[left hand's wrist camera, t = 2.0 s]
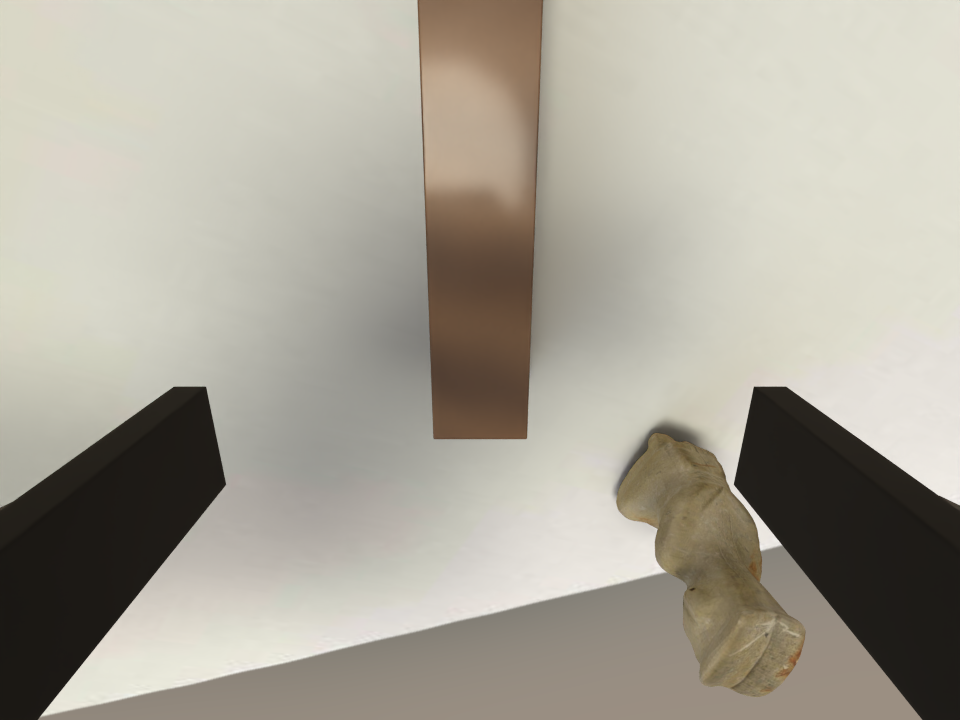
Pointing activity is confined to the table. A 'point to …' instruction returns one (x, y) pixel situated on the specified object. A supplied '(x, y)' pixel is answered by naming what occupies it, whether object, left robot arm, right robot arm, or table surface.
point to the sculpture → (712, 566)
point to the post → (480, 208)
